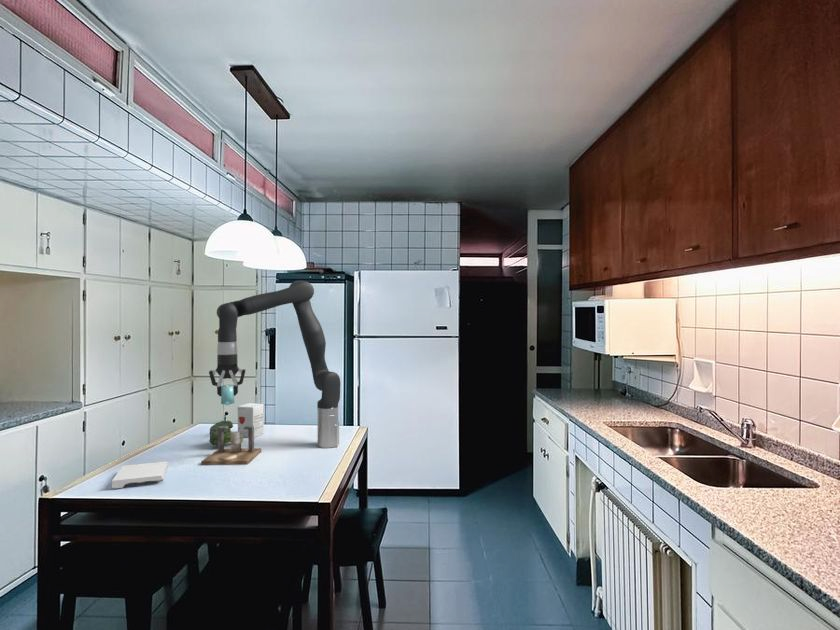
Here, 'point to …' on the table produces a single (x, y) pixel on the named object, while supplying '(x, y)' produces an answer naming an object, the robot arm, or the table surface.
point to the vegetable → (227, 433)
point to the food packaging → (139, 474)
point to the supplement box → (251, 418)
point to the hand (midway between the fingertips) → (227, 395)
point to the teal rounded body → (227, 394)
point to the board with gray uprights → (233, 449)
